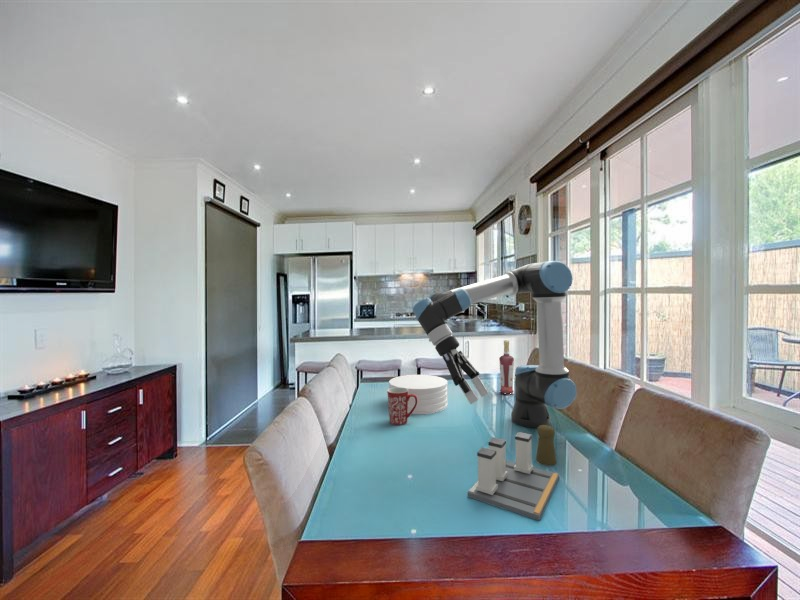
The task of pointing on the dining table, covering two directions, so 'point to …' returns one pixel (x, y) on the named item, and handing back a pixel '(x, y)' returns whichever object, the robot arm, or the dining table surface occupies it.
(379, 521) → the dining table surface
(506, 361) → the liquor
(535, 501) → the panel
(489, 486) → the lever far
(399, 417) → the mug
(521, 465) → the lever
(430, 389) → the plate stack
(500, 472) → the lever mid
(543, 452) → the cork
